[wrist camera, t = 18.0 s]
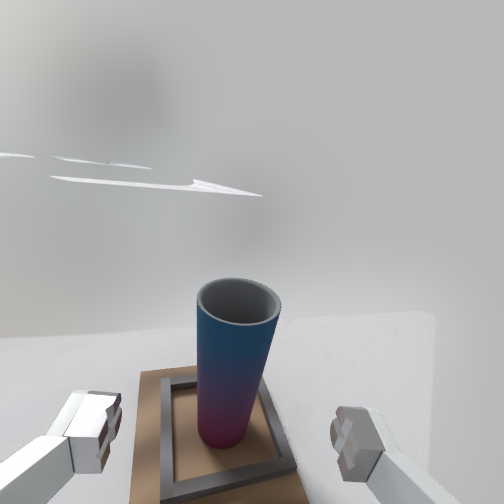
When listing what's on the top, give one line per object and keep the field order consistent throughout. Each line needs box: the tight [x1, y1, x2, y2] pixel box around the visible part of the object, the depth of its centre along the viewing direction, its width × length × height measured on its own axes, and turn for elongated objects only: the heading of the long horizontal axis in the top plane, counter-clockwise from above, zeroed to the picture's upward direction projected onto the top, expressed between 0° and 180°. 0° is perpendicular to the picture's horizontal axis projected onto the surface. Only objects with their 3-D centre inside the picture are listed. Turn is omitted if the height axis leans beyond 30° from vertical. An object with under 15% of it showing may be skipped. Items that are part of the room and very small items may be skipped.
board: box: [129, 366, 309, 504], centre depth 26 cm, size 20×14×2 cm
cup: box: [197, 278, 281, 449], centre depth 26 cm, size 7×7×15 cm
